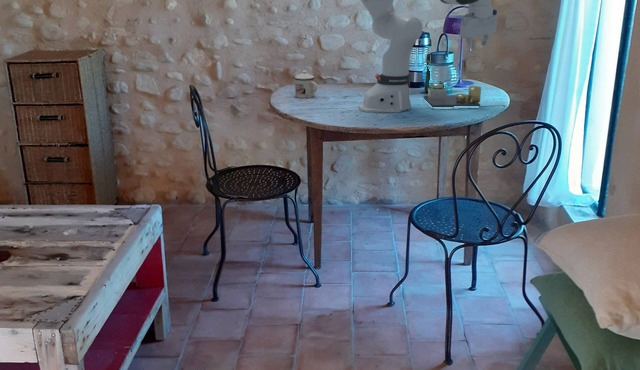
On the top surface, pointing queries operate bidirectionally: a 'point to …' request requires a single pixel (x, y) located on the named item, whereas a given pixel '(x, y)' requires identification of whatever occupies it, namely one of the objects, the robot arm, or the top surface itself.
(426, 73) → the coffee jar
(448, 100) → the tribrach plate
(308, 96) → the teacup with lid
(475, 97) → the brown boot
